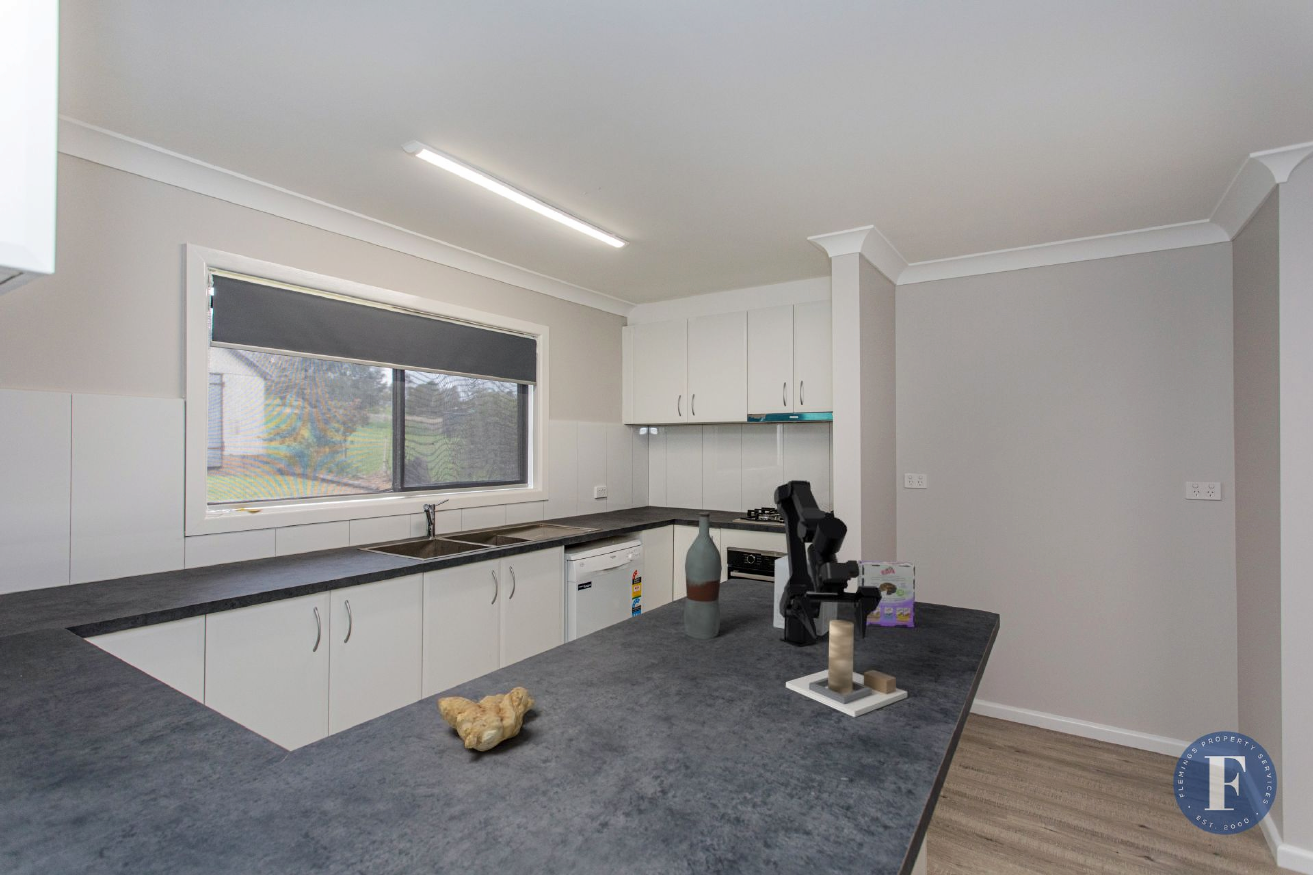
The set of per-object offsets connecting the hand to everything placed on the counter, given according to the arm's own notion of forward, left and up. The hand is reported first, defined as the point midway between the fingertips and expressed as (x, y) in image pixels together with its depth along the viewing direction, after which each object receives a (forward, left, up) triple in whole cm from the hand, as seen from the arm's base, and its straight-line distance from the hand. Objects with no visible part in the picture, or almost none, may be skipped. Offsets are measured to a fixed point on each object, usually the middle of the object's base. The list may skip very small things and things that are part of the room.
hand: (839, 637), depth 121 cm
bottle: (-43, +2, -11) cm, 44 cm away
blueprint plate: (0, +2, -11) cm, 11 cm away
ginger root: (-20, -61, -11) cm, 66 cm away
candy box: (-24, +50, -11) cm, 57 cm away
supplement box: (-34, +30, -11) cm, 47 cm away
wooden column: (+1, -1, -10) cm, 10 cm away
